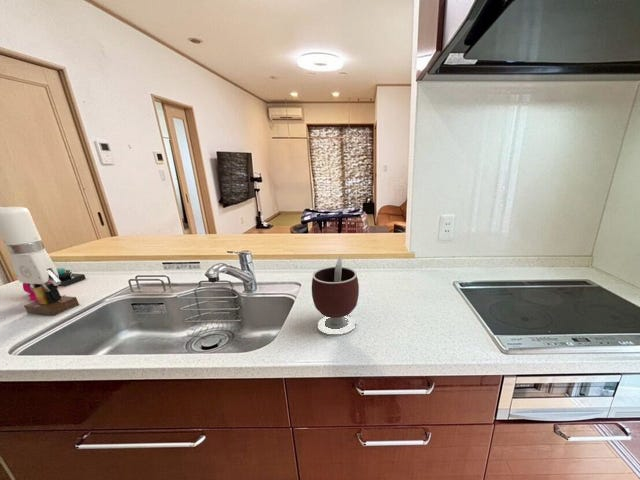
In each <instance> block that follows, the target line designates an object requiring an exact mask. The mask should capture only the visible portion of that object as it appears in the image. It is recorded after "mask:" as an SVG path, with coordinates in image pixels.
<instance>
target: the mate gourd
mask: <svg viewBox="0 0 640 480" xmlns="http://www.w3.org/2000/svg"><path fill="white" fill-rule="evenodd" d="M342 261H343V256H342V255H339V258H338V259H337V262H336V263H335V266H328V267H327V266H326V267H323V268H320V269H317V270H316V271H314V272H313V273H312V279H311V296H312V301H313V305H314V308H315V310H317V311H318V312H319V313H320V314H321V315H322V316H323V317H324V316H326V317H330V318H328V319H326V321H325V326H326V327H328V328H331V329H340V328H343V327H345V326H347V325H348V323H347V322H349V321H348V319H347V318H345V317H344V316H346V315H350V314H351V313H352V312H353V311H354V309H355V308H356V307H357V305H358V302H359V294H360V284H359V279H358V273H357V271H356V270H354V269H352V268H349V267H344V266H343V264H342ZM345 319H347V320H345ZM316 328H317V329H316V330H317V331H318V332H319V333H320V334H323V335H325V336H330V337H341V336H346V335H348V334H350V333H352V332H353V331H354V330H355V329H356V328H357V325H356V326H355V328H354V329H352V330H351V331H349V332H347V333H343V334H327V333H324V332H322V331H320V330H319V329H318V327H317V326H316Z"/></svg>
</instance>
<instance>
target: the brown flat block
mask: <svg viewBox="0 0 640 480" xmlns="http://www.w3.org/2000/svg"><path fill="white" fill-rule="evenodd" d="M60 296H61V299H60V300H58V301H55V302H53V303H47V304H45V305H44V304H40V303H39V301H38V300H37V301H33V302H30V303H27V304H24V305H23V307H24V308H25V311H26V313H27V314H28V315H39V316H50V317H54V316H57V315H59V314H62V313H63V312H66V311H68V310H70V309H73V308H75V307H77V306H80V303H79V301H78V297H76V296H68V295H67V294H64V295H60Z"/></svg>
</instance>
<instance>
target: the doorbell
mask: <svg viewBox="0 0 640 480" xmlns="http://www.w3.org/2000/svg"><path fill="white" fill-rule="evenodd" d="M65 271H66V273H63V274H58V275H59V278H58V279H59V280H60V281H61V283H60V284H59V285H58V287H63V288H64V287H68V286H71V285H73V284H77V283H79V282H82V281H84V280H86V279H87V278H86V276H85V274H84V273H72V270H71V269H65Z"/></svg>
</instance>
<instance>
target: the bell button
mask: <svg viewBox="0 0 640 480" xmlns="http://www.w3.org/2000/svg"><path fill="white" fill-rule="evenodd" d="M56 270H57V272H58V274H63V273H66V271H65V270H66V269H65V268H64V267H60V268H56Z"/></svg>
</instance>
